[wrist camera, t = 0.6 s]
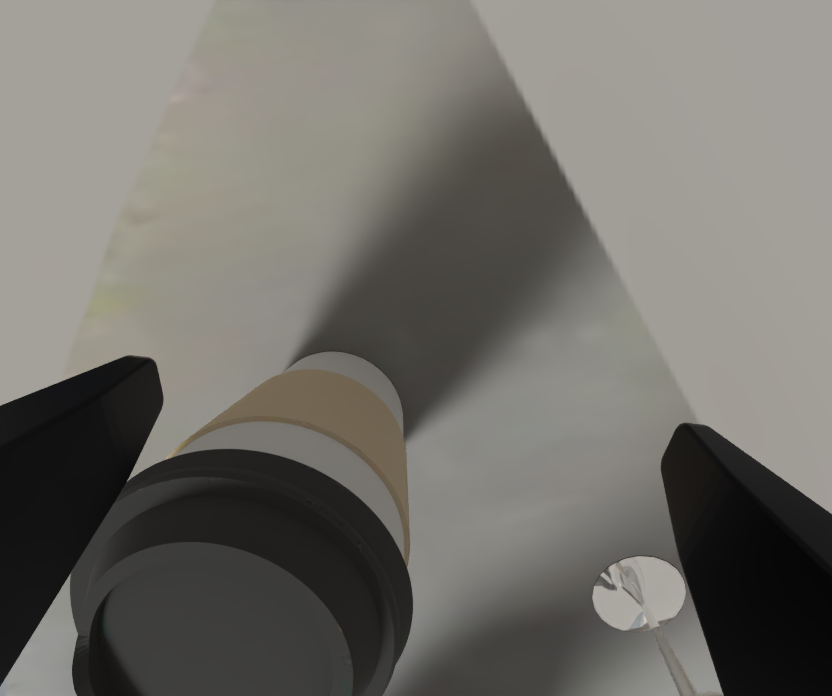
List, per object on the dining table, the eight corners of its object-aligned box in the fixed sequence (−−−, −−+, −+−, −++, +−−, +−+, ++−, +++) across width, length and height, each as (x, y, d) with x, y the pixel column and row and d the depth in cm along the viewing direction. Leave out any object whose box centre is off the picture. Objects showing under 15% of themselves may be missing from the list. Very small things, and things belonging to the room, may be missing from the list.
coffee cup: (389, 304, 24) (312, 452, 10) (450, 467, 27) (460, 782, 12) (219, 363, 26) (-67, 571, 11) (291, 514, 28) (129, 851, 13)
